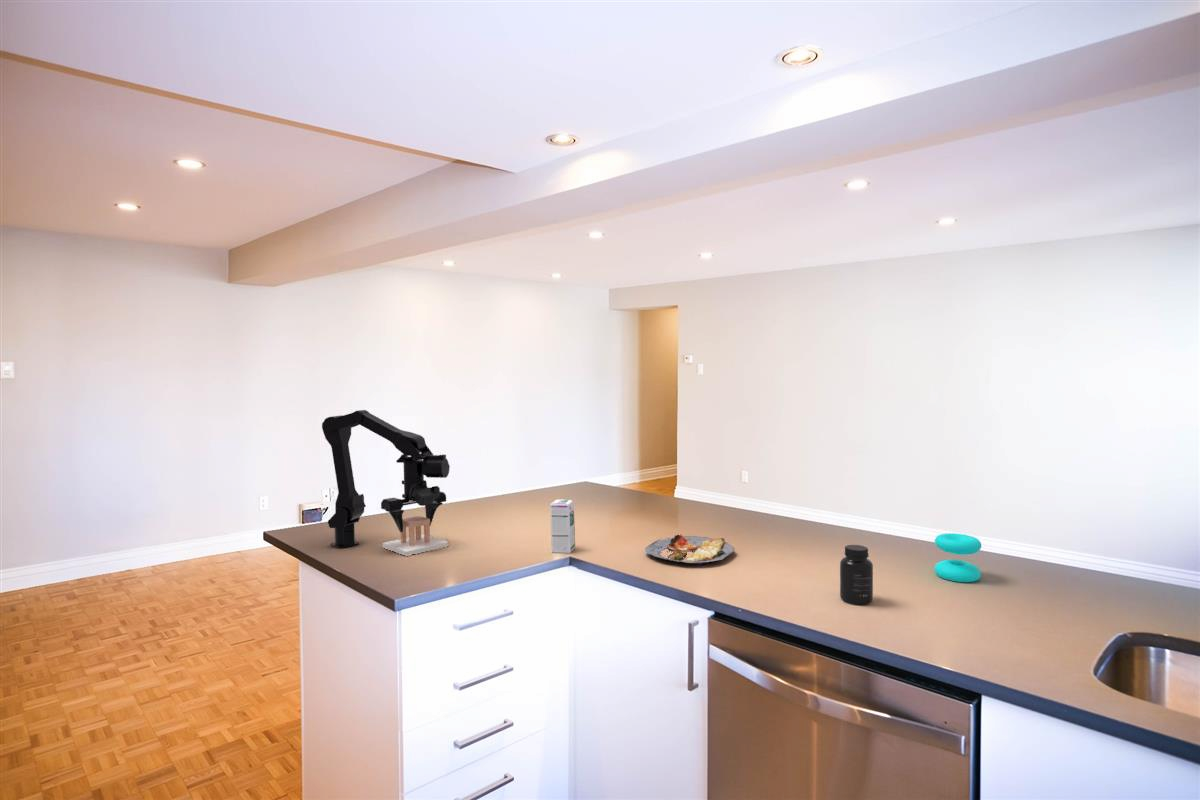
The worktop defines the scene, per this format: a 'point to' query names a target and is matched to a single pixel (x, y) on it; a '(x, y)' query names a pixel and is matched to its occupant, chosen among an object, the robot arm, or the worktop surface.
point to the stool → (415, 529)
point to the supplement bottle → (856, 576)
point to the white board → (419, 545)
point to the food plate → (691, 549)
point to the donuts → (957, 568)
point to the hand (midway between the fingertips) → (415, 529)
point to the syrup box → (562, 526)
